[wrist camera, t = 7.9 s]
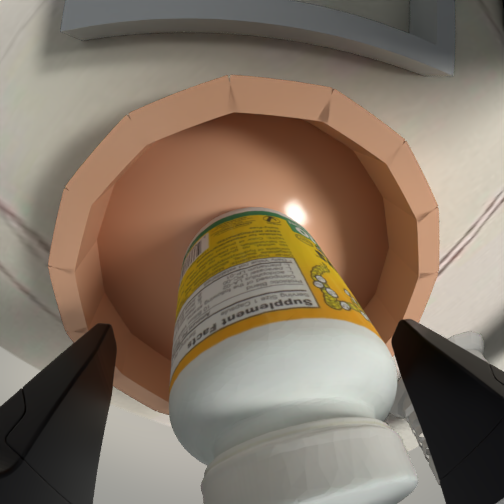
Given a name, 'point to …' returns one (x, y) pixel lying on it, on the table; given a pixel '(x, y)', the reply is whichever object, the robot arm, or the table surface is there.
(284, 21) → the open rectangular frame
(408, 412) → the french press
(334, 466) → the supplement bottle
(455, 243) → the table surface
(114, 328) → the bowl
